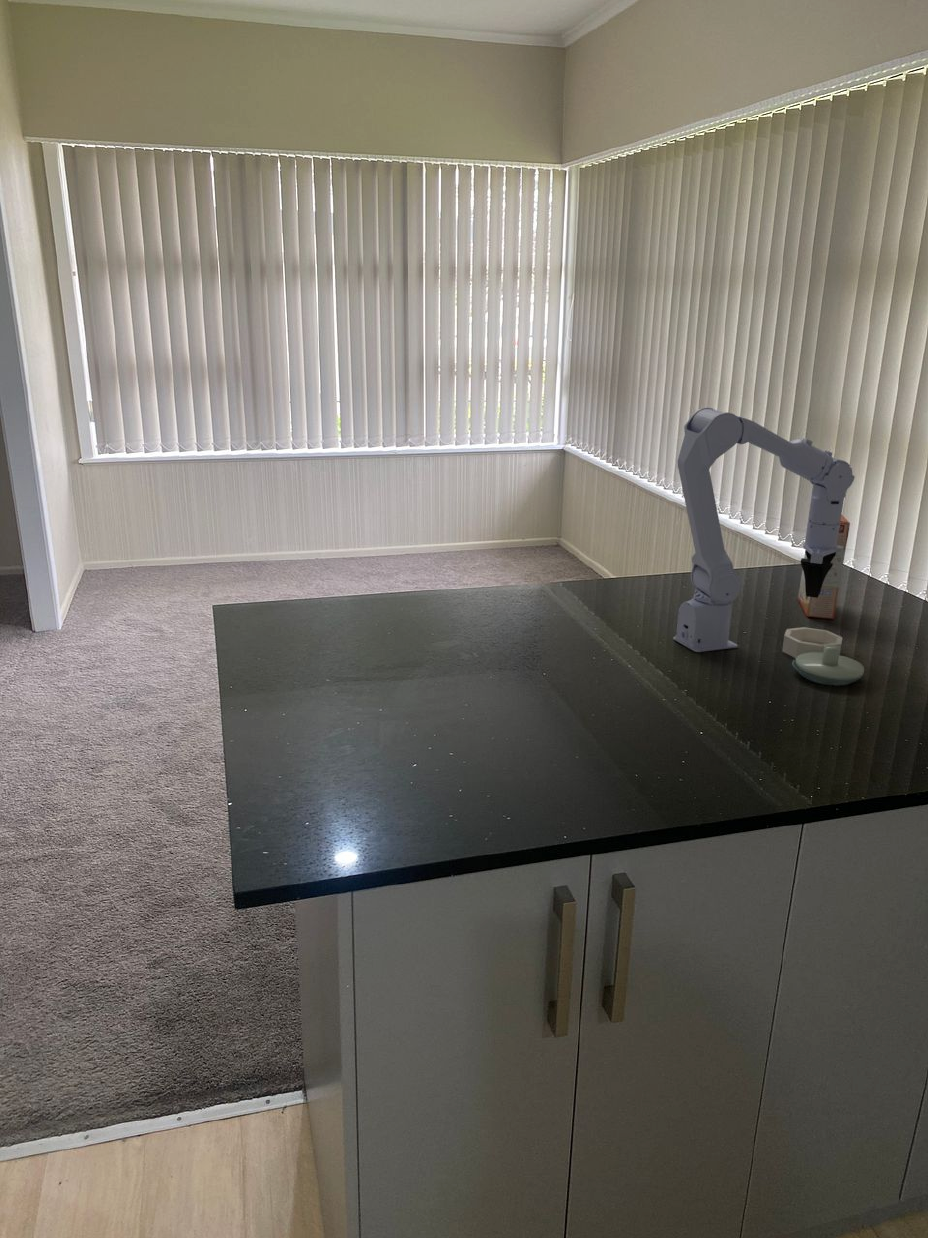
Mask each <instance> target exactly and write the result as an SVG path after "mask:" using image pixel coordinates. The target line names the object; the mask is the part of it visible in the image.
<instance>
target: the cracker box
mask: <svg viewBox="0 0 928 1238" xmlns="http://www.w3.org/2000/svg"><path fill="white" fill-rule="evenodd" d="M850 525H851V522H850V521H849V520H848V519H847V518H846V516H844V515H843V514H842V515H841V522H840V528H839V534H838V541H837V546H842V547H843V551H842V552H837V551H836V555H835V557H834V558H833V559H832V561H831V563H833V566H832V567H831V569H830V570H829V572H828V573H827V575H826V577H825V579H824V582H823V585H822V588H821V591H820V594H819V596H818V598H815V597H807V596H806V591H805V576H804V571H803V569H801V576H800V584H799V589H798V595H797V600H798V601H799V603H800V605H801V608H802V610H803V611H804V613H805V616H806V617H808V618H818V619H827V620H834V619H835V614H836V610H837V603H838V596H839V590H840V585H841V578H842V573H843V567H844V560H845V555H846V549H847V548H846V547H847V544H848V539H849V538H848V537H849V533H850ZM803 558H805V559H807V556H806V553H805V552H804V556H803Z"/></svg>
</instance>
